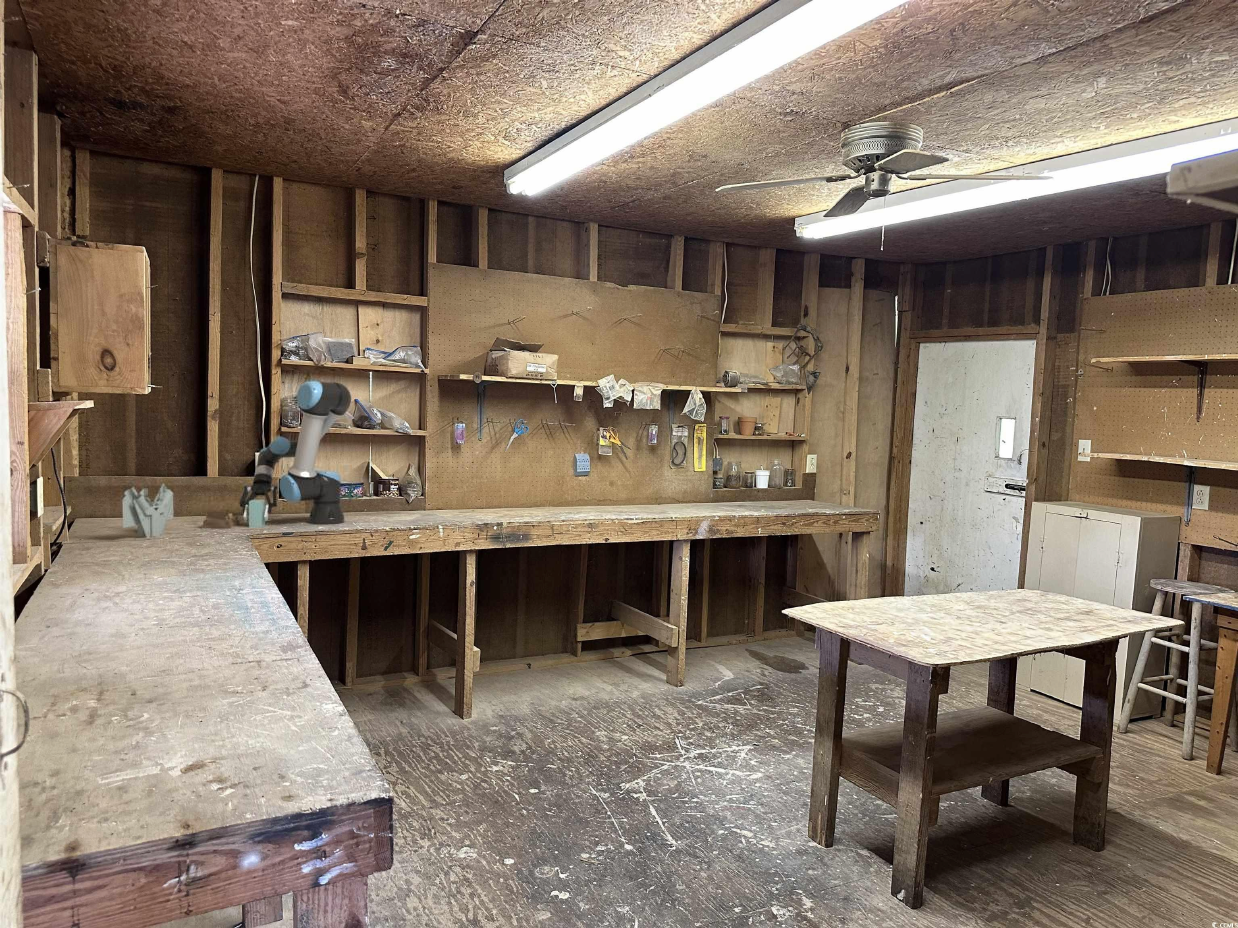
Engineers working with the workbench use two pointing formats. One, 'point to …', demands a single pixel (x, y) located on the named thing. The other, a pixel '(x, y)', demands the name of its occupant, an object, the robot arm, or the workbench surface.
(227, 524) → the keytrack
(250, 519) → the mint green box
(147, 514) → the bracket
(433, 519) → the workbench surface
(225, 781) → the workbench surface
